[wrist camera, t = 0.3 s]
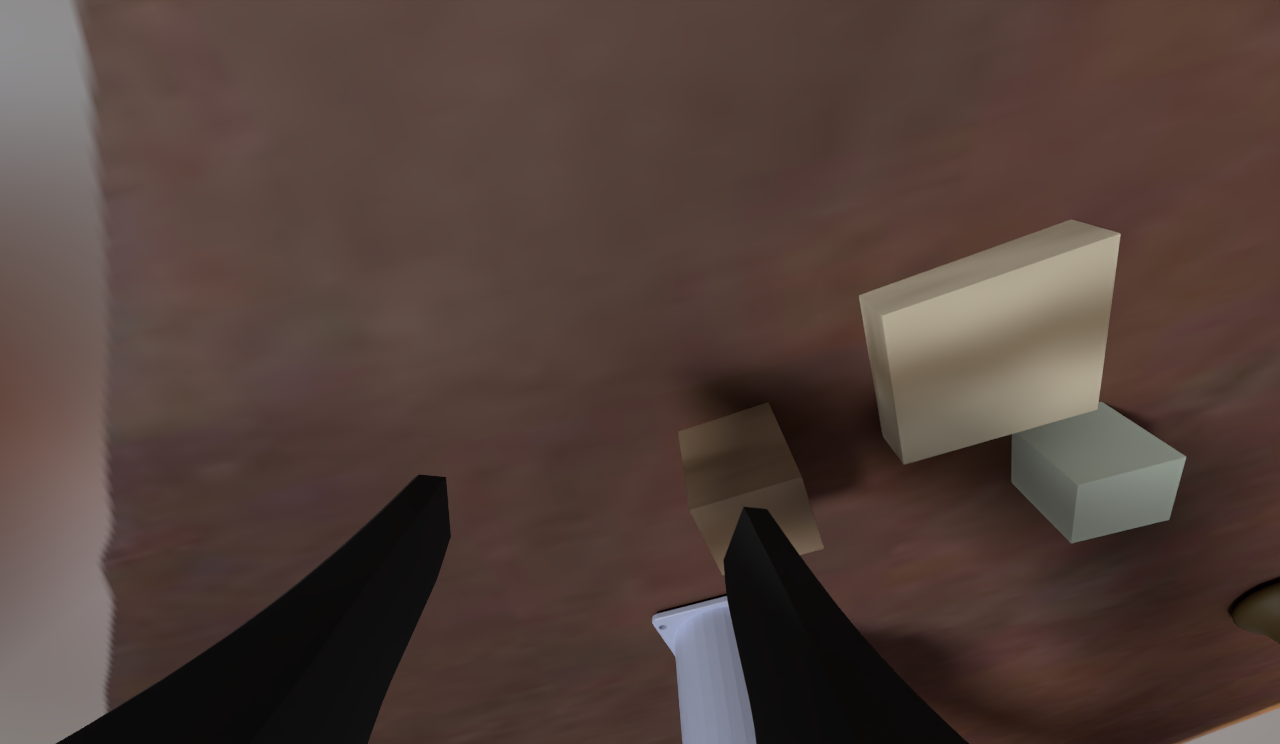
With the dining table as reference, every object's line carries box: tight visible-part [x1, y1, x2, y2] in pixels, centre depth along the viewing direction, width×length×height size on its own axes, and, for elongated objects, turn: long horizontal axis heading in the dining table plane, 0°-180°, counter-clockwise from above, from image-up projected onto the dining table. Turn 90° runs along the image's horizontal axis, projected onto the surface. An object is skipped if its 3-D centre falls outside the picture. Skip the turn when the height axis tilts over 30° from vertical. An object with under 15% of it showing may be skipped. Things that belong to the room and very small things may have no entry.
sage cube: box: [1011, 402, 1186, 543], centre depth 22 cm, size 4×4×4 cm
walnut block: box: [678, 402, 824, 575], centre depth 21 cm, size 4×4×5 cm
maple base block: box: [859, 220, 1121, 465], centre depth 20 cm, size 8×8×2 cm
